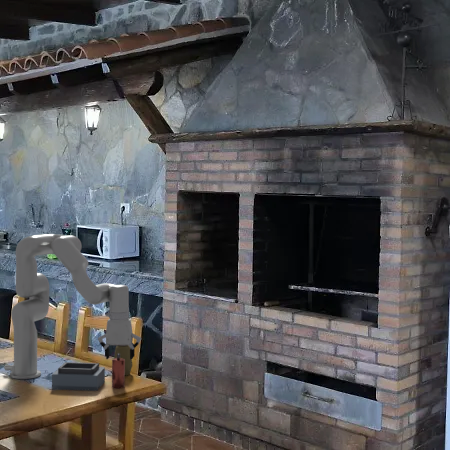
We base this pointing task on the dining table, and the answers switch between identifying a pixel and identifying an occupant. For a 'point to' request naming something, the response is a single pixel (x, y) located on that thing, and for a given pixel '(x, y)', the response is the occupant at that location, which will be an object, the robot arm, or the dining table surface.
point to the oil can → (118, 372)
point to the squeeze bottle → (124, 356)
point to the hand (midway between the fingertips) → (119, 358)
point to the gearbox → (78, 376)
